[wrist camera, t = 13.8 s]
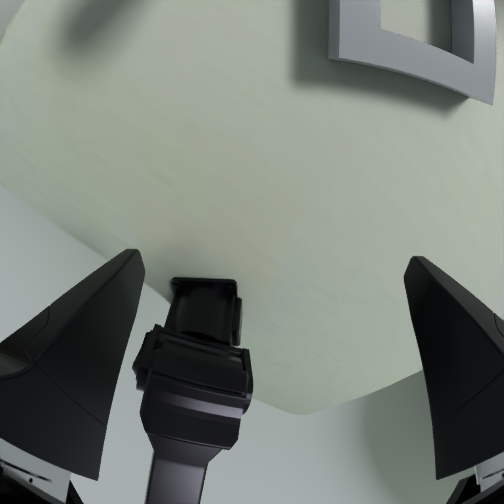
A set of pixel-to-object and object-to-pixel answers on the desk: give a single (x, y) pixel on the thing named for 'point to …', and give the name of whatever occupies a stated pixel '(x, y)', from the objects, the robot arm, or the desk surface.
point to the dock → (420, 46)
